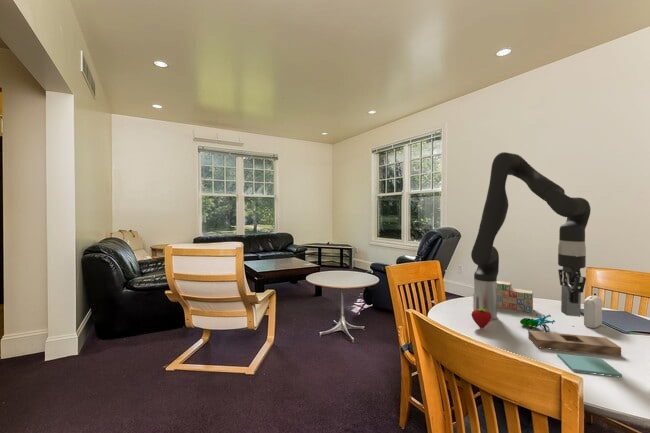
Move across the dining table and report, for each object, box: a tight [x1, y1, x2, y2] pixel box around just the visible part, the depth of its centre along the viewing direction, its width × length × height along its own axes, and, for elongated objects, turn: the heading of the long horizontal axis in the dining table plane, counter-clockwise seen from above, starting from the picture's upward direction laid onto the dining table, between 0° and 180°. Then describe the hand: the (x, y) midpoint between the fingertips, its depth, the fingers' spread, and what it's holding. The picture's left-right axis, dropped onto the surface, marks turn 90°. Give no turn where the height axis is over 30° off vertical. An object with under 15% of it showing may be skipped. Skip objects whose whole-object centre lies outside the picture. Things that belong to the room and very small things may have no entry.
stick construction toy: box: [519, 313, 556, 332], centre depth 119 cm, size 12×7×8 cm
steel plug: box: [560, 285, 582, 317], centre depth 104 cm, size 4×4×10 cm
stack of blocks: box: [497, 280, 534, 313], centre depth 148 cm, size 21×6×12 cm, turn 49°
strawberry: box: [471, 304, 492, 329], centre depth 121 cm, size 6×8×10 cm
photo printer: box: [583, 295, 603, 329], centre depth 123 cm, size 10×4×12 cm, turn 123°
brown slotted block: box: [527, 330, 622, 357], centre depth 104 cm, size 24×8×3 cm, turn 73°
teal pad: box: [556, 353, 623, 378], centre depth 91 cm, size 12×10×1 cm
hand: (570, 300), depth 104 cm, fingers closed on steel plug, 4 cm apart
